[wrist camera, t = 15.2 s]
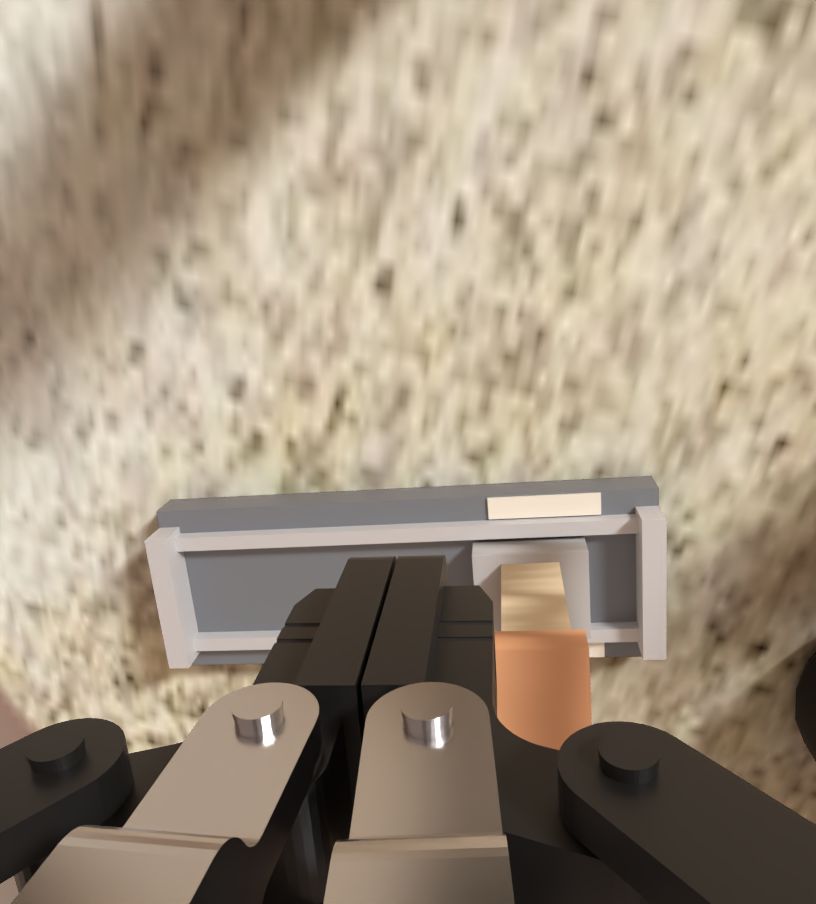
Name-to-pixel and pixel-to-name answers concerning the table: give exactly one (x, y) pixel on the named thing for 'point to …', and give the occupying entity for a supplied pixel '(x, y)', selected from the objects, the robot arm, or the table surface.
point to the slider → (539, 634)
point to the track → (395, 534)
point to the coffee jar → (807, 705)
